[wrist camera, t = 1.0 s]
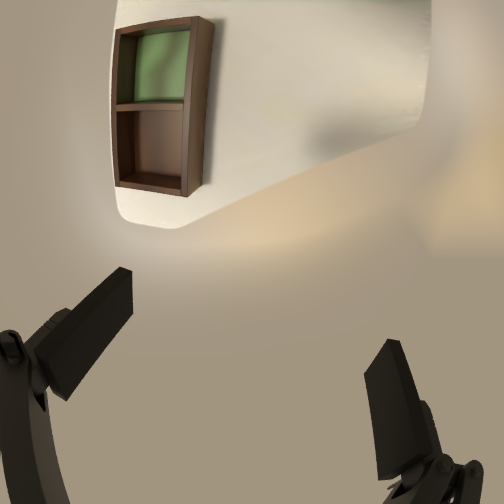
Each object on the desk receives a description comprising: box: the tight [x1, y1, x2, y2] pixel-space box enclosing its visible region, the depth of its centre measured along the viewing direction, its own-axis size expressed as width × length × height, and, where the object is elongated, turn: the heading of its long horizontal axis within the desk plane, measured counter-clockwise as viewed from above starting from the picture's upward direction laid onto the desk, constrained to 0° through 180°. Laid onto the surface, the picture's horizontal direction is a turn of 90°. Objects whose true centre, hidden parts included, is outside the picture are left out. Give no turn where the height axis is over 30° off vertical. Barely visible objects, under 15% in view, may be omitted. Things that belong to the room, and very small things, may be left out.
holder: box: [111, 16, 215, 197], centre depth 29 cm, size 11×22×5 cm, turn 174°
